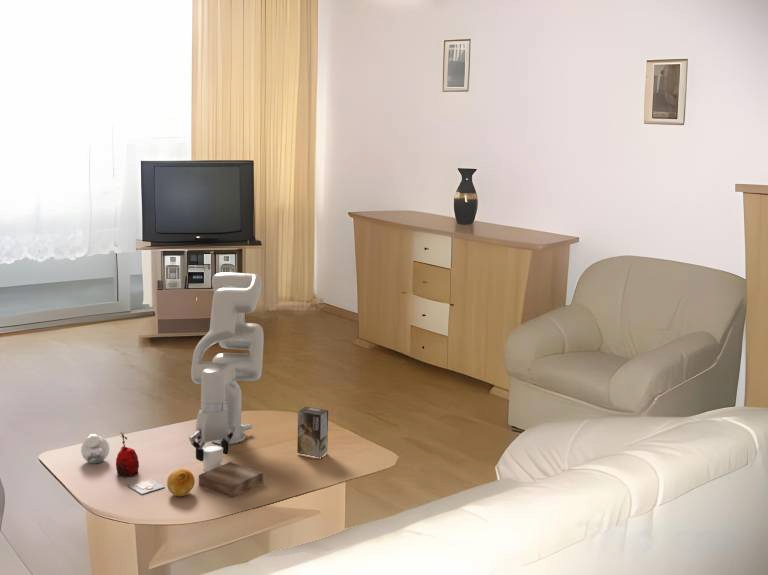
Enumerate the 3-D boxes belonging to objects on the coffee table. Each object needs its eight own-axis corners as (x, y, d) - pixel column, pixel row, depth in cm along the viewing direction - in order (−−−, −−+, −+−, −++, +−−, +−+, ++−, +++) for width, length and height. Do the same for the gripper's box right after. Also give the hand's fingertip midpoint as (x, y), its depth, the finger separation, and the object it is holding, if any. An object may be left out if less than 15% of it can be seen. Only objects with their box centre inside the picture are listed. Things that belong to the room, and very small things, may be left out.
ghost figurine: (74, 464, 288) (73, 435, 287) (95, 455, 297) (94, 426, 295) (95, 470, 285) (94, 440, 283) (115, 460, 293) (115, 431, 291)
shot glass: (197, 469, 288) (197, 449, 287) (211, 463, 294) (211, 443, 293) (214, 474, 285) (214, 454, 284) (227, 467, 291) (227, 447, 290)
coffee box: (328, 454, 306) (329, 410, 303) (320, 460, 301) (321, 415, 298) (304, 449, 310) (305, 405, 307) (296, 455, 304) (297, 411, 301)
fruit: (192, 500, 266) (192, 475, 264) (165, 500, 265) (164, 475, 263) (196, 489, 274) (196, 464, 272) (169, 488, 273) (169, 464, 271)
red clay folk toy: (143, 473, 284) (143, 428, 281) (127, 480, 278) (126, 435, 275) (127, 467, 288) (126, 423, 285) (110, 474, 282) (109, 429, 279)
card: (150, 480, 279) (150, 478, 279) (164, 487, 273) (164, 486, 273) (127, 486, 273) (127, 485, 273) (141, 495, 268) (141, 493, 268)
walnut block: (230, 473, 288) (230, 461, 287) (262, 484, 280) (262, 472, 279) (198, 487, 276) (198, 474, 276) (231, 499, 269) (231, 486, 268)
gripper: (227, 398, 294) (227, 448, 297) (183, 408, 282) (183, 459, 285) (241, 404, 289) (240, 453, 292) (197, 414, 277) (196, 466, 279)
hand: (212, 456), depth 288 cm, fingers open, 9 cm apart
